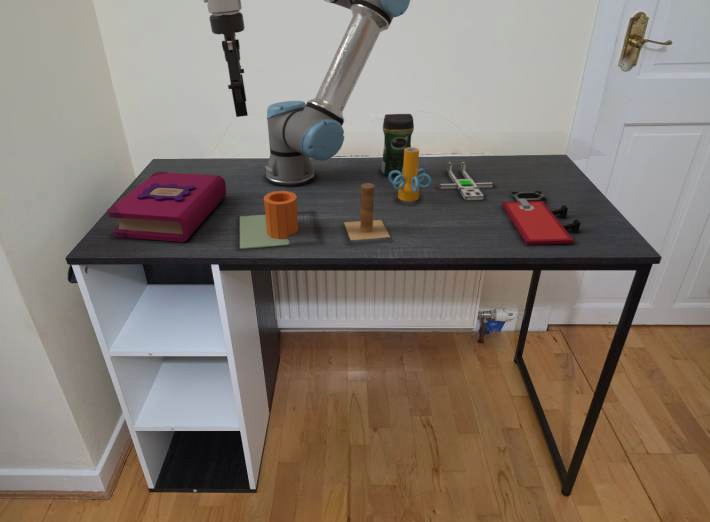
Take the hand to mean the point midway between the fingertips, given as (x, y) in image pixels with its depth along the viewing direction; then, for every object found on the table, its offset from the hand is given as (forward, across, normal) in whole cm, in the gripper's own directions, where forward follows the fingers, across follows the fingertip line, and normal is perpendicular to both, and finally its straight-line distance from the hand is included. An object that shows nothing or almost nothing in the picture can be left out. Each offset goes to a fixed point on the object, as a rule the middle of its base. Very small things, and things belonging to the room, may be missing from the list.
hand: (241, 108), depth 130 cm
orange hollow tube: (+28, +15, +6) cm, 32 cm away
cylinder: (+31, +2, +43) cm, 53 cm away
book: (+27, 0, -23) cm, 35 cm away
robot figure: (+32, -6, +63) cm, 71 cm away
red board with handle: (+33, +19, +73) cm, 82 cm away
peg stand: (+29, +19, +26) cm, 44 cm away
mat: (+28, +13, +5) cm, 31 cm away
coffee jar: (+31, -20, +45) cm, 58 cm away
